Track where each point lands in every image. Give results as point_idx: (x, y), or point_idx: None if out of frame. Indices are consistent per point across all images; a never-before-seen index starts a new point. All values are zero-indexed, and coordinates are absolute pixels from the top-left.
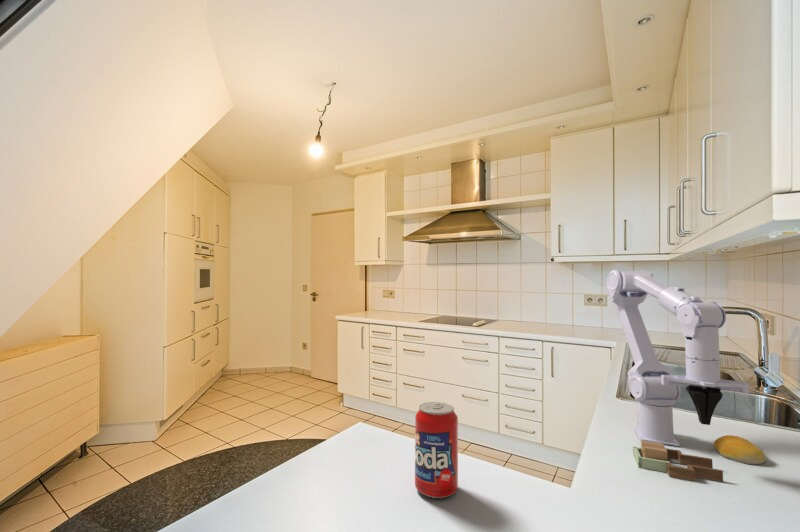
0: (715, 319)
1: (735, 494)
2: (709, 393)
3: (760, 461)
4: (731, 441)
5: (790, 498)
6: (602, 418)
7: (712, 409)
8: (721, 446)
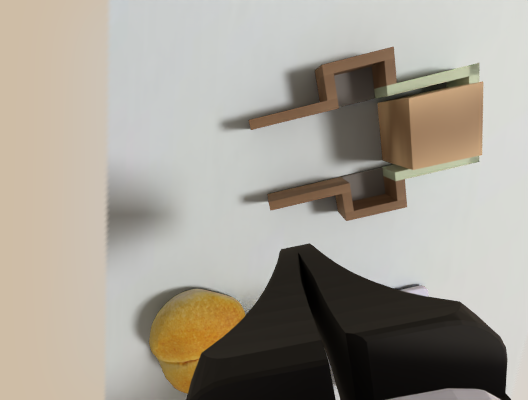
0: None
1: (226, 46)
2: (319, 351)
3: (162, 307)
4: None
5: (113, 119)
6: None
7: (273, 289)
8: None
